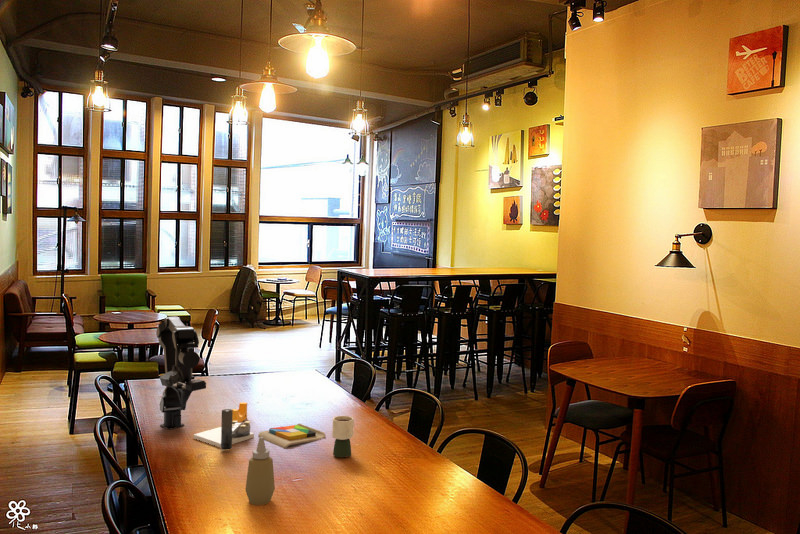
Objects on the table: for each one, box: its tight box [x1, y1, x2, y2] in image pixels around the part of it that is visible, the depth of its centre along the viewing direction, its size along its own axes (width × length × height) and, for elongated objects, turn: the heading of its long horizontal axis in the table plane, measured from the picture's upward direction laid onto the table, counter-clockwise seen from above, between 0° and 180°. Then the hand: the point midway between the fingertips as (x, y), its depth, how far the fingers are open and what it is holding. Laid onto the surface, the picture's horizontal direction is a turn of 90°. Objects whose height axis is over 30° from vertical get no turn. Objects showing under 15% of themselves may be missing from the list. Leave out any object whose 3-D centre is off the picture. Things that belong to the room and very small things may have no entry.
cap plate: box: [193, 426, 255, 449], centre depth 225 cm, size 15×15×2 cm
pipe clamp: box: [231, 401, 248, 422], centre depth 245 cm, size 12×4×6 cm, turn 175°
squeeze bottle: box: [245, 437, 276, 506], centre depth 173 cm, size 8×8×18 cm
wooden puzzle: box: [258, 423, 326, 449], centre depth 229 cm, size 18×19×4 cm
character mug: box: [331, 415, 355, 459], centre depth 211 cm, size 11×7×13 cm, turn 33°
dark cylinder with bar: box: [220, 408, 251, 451], centre depth 220 cm, size 8×19×13 cm, turn 176°
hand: (183, 405), depth 223 cm, fingers closed
